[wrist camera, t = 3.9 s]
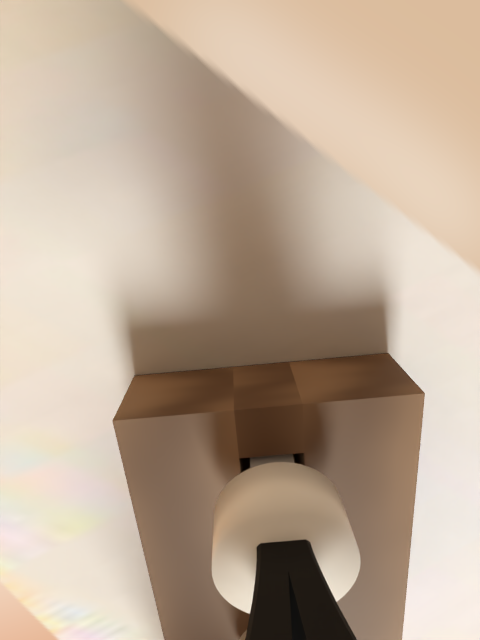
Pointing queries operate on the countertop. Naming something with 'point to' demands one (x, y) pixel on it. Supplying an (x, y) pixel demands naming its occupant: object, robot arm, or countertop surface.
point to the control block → (266, 440)
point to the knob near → (280, 526)
